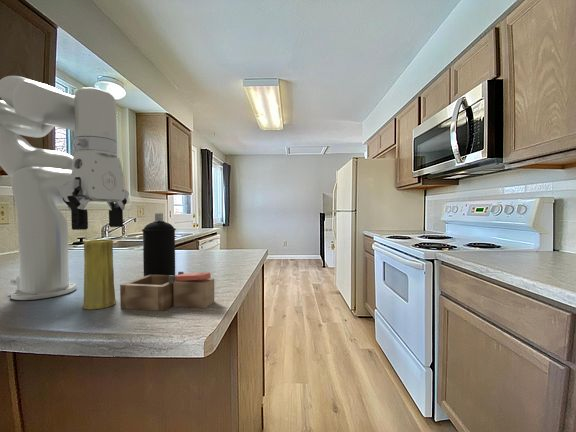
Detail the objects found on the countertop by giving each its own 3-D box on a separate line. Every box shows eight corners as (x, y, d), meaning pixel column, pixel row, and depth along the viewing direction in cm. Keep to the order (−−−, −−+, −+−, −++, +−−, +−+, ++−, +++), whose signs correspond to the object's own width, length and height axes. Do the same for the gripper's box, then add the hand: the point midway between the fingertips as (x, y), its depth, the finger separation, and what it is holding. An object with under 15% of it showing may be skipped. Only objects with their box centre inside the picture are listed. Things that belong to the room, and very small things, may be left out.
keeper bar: (170, 281, 63) (170, 276, 63) (178, 278, 66) (177, 273, 66) (207, 279, 62) (206, 275, 62) (212, 276, 65) (212, 272, 65)
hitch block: (120, 308, 62) (120, 277, 62) (150, 294, 72) (149, 268, 71) (199, 312, 59) (199, 280, 59) (219, 298, 69) (219, 270, 68)
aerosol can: (183, 286, 79) (182, 213, 79) (158, 294, 72) (157, 213, 71) (161, 283, 83) (160, 213, 82) (135, 290, 75) (134, 213, 75)
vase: (99, 311, 60) (98, 242, 60) (75, 309, 61) (73, 241, 61) (122, 301, 66) (121, 239, 66) (99, 300, 67) (98, 238, 67)
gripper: (76, 138, 54) (79, 230, 54) (139, 155, 71) (141, 225, 71) (42, 140, 55) (45, 231, 55) (112, 157, 72) (114, 226, 72)
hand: (99, 228), depth 63 cm, fingers open, 9 cm apart
